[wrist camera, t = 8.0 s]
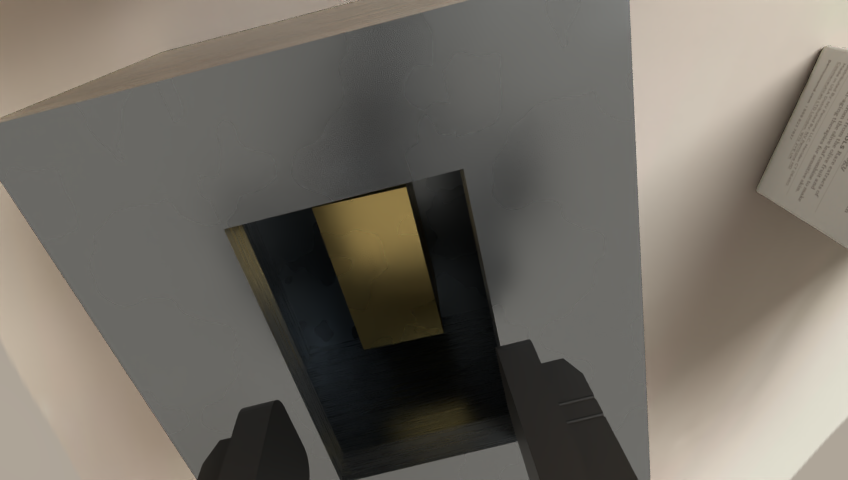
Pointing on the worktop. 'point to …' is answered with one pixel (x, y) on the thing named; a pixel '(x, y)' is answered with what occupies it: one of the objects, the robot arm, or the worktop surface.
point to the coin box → (343, 178)
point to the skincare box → (815, 151)
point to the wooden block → (382, 264)
